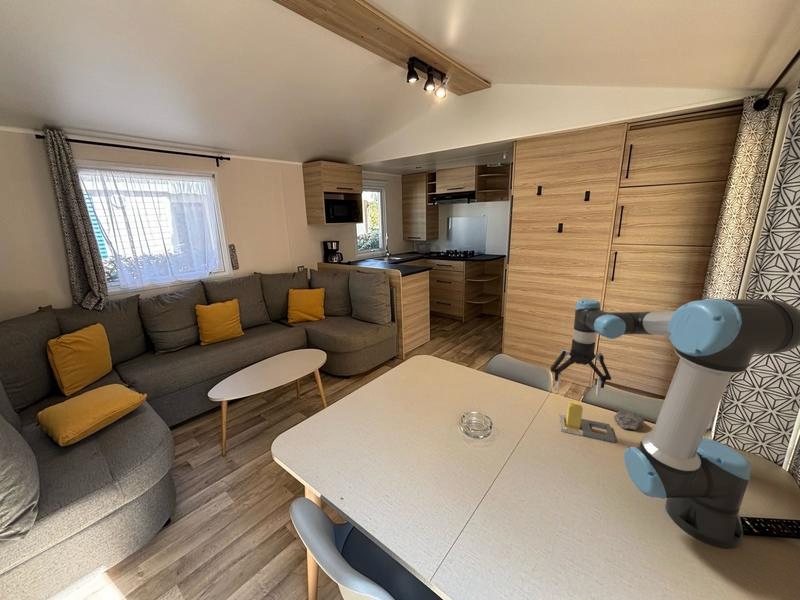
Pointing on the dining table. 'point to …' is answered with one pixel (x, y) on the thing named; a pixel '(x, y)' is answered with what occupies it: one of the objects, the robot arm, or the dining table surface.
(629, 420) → the rock
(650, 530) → the dining table surface
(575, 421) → the block
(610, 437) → the grey flat frame
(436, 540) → the dining table surface
